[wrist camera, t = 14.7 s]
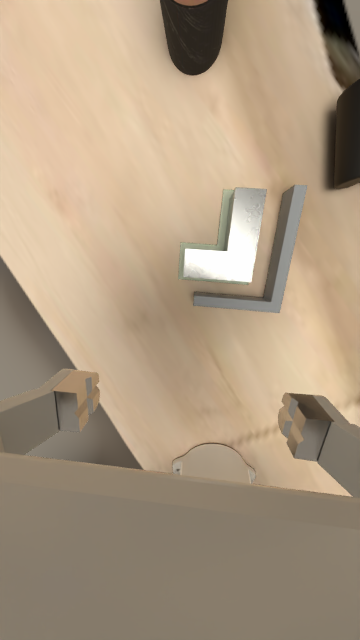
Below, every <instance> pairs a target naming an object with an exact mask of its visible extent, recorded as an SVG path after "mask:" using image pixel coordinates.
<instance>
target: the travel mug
mask: <svg viewBox="0 0 360 640" xmlns="http://www.w3.org/2000/svg"><path fill="white" fill-rule="evenodd" d="M160 3H161V9H162V15H163V21H164V27H165V33H166V39H167V44H168V49H169V53H170V56H171V59H172V61H173V63H174V64H175V66H176V67H177V68H178V69H179V70H180V71H182V72H183V73H185V74H188V75H197V74H201V73H203V72H205V71H206V70H207V69H209V68H210V67H211V66H212V64H213V63H214V61H215V60H216V58H217V56H218V54H219V51H220V47H221V43H222V37H223V30H224V24H225V17H226V10H227V3H228V0H160Z"/></svg>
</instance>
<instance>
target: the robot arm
mask: <svg viewBox="0 0 360 640" xmlns="http://www.w3.org/2000/svg"><path fill="white" fill-rule="evenodd" d="M98 382H99V375H98V373H96V372H88V371H80V370H72V369H62V370H61V371H59V372H58V373H57V374H56V375H54V376H53V377H52V378H51V379H50V380H48V381H47V382H46V383H45V384H44V385H42V386H41V387H40V388H39V389H32V390H30V391H27V392H24V393H21V394H18V395H16V396H13V397H10V398H7V399H4V400H2V401H0V640H360V427H358V426H357V425H355V424H350V423H349V422H348V421H347V420H346V419H345V418H344V417H343V415H342V414H341V413H340V412H339V411H338V410H337V409H336V408H335V407H334V406H333V405H332V404H331V403H330V401H329V400H328V399H327V398H326V397H324V396H321V395H306V394H294V393H285V394H284V395H283V398H282V403H283V404H284V406H283V407H282V408H281V409H280V410H279V414H278V424H279V428H280V430H281V432H282V434H283V435H284V436H285V437H287V438H288V440H287V445H288V447H289V449H290V451H291V453H292V455H293V457H294V458H296V459H303V460H310V461H317V463H318V464H319V465H320V466H321V467H322V468H323V469H324V470H326V471H327V472H328V473H329V474H330V475H331V476H332V477H333V478H334V479H335V480H336V481H337V482H338V483H339V484H340V485H341V486H342V487H343V488H344V489H345V490H347V491H348V492H349V493H350V494H351V495H352V496H353V497H350V496H342V495H334V494H326V493H318V492H310V491H303V490H295V489H287V488H279V487H272V486H264V485H256V484H252V483H253V481H254V479H255V477H256V474H255V471H254V469H253V468H251V467H250V466H248V465H247V464H246V463H245V462H244V460H243V458H242V457H241V456H240V455H239V454H238V453H237V452H236V451H235V450H233V449H232V448H230V447H227V446H224V445H220V444H204V445H200V446H197V447H195V448H193V449H192V450H190V451H189V452H188V453H187V454H186V455H184V456H183V457H180V458H177V459H175V460H174V461H173V462H172V468H173V474H170V473H162V472H154V471H146V470H138V469H130V468H123V467H122V468H121V467H115V466H107V465H98V464H91V463H83V462H76V461H68V460H60V459H52V458H44V457H36V456H29V455H25V454H26V453H28V452H29V451H31V450H32V449H34V448H35V447H37V446H38V445H40V444H41V443H43V442H44V441H46V440H47V439H49V438H50V437H52V436H53V435H55V434H56V433H58V432H59V431H70V432H81V430H82V429H83V427H84V426H85V424H86V423H87V421H88V415H89V414H91V413H93V412H94V411H95V409H96V407H97V405H98V402H99V397H100V390H99V389H98V387H97V386H96V385H97V384H98Z"/></svg>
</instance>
